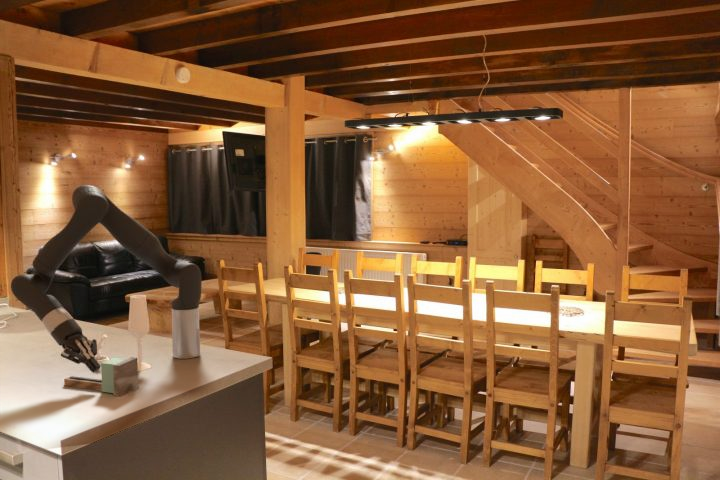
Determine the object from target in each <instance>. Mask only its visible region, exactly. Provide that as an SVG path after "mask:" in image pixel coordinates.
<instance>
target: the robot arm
mask: <svg viewBox="0 0 720 480" xmlns="http://www.w3.org/2000/svg"><path fill="white" fill-rule="evenodd" d="M71 201H72V202H71V203H72V205H73V208H74V212H73V214H72V216H71V217H70V219H69V221H68V223H67V224H66V225H65V227H63V228H62V229H61V230H60V231H59V232H58V233H56V234H55V235H54V236H52V237H51V238H50V239H49V240H48V241H47V242H46V243H45V244H44V246H43V247H42V248H41V249H40V250H39V252H38V253H37V255H35V257H34V259H33V261H32V263H31V265H32V267H33V269H34V272H33V273H30V274H29V273H27V274H26V273H25V274H18V275H16V276H14V277H13V279H11V283H10V290H11V293H12V294H13V296H14V297H15V298H16V300H18V301H19V302H21V304H22V305H24V306H25V307H26V308H28V309H29V310H30V311H32V312H33V313H34V315H36V316H37V318H38V319H39V320H40V321H41V323H42V325H43V326H44V328H45V329H46V331H47V332H48V333H49V335H50V336H51V337H52V338H53V340H54V341H55V342H56V344H58V346H61V348H62V349H63V350H62V352H61V353H60V357H62V358H63V359H64V358H65V359H66V360H68V361H71V362H73V363H75V364H77V365H80V363H81V364H83V365H85V364H86V365H85V366H86V367H87V368H88V370H89V371H90V372H92V373H96V372H99V370H100V369H101V366H100V364H99V363H98V362H97V361H98V360H96V359H95V358H94V356H95V355H96V354H97V343H98V342H97V339H95V338H93V339H91V340H90V339H88V338H87V337H88V336H85V335H84V334H83V328H81V326H80V325H79V324H78V322H77V321H76V320H75V319H74V317H73V316H72V315H71V314H70V313H69V312H68V310H66V309H65V308H64V306H63V305H62V304H61V302H59V300H58V299H57V298H56V297H55V296H53V295H52V294H47V293H46V292H47V291H48V290H49V289H50V287H51V284H52V282H53V279H54V277H55V274H56V272H57V271H58V270H59V269H60V266H61V265H62V264H63V263H64V261H65V260H66V259H67V257H68V256H69V255H70V253H71V252H72V251H73V250H74V248H75V247H76V246H77V245H78V244H79V243H80V242H81V241H82V240H83V239H84V238H85V237H86V235H88V234H89V233H90V231H91V230H93V229H94V228H95V227H96V226H97V225H98V224H100V225H102V226H103V227H104V228H105V229H106V230H107V231H108V232H109V234H111V236H112V237H113V238H114V239H115V240H116V241H117V243H118V244H120V246H122V247H123V249H125V250H126V251H127V252H129V254H131V255H133V256H135V257H136V258H137V259H139V261H141V262H143V263H144V264H145V265H147V266H149V267H150V268H152V269H153V271H155V272H156V273H158V274H159V275H160V276H161V278H163V279H164V281H166V282H167V283H168V284H169V285H170V286H171V287H173V288H177V289H178V296H177V297H176V298H173V300H171V331H172V332H171V333H172V335H171V336H172V357H173V358H175V359H181V360H182V359H183V360H185V359H192V358H196V357H201V329H200V301H201V298H202V282H203V281H202V280H203V278H202V271H201V269H200V267H199V265H197V264H195V263H191V262H183V261H180V260H178V259H176V258H175V257H173V256H172V255H170V254H169V253H167V252H166V250H165V249H164V247H163V245H162V243H161V242H160V240H159V238H158V237H157V236H156V235H155V234H154V233H153V232H151V231H150V230H149V229H148V228H146V227H145V226H143V224H141V223H140V222H138V221H137V220H136V219H134V218H133V217H132V216H130V215H128V214H127V213H126V212H124V211H123V210H121V209H120V208H119V207H118V206H117V205H116V204H115V203H114V202H113V201H112V200H111V199H110V198H109V197H108V196H107V195H106V194H105V193H104V192H103V191H102V190H101V189H100V188H99V187H96V186H94V185H91V184H90V185H89V184H84V185H80V186H78V187H76V188H75V189H74V190H73V193H72V196H71Z"/></svg>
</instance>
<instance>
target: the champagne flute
mask: <svg viewBox="0 0 720 480" xmlns="http://www.w3.org/2000/svg"><path fill="white" fill-rule="evenodd" d="M129 299H130V300H129V309H128V310H129V312H128V326H127V329H128V330H127V331H128V334H130V335H131V336H132V337H133V338H134V339H136V340H137V362H138V372H139V371H145V370H149V369H150V368H151V367H152V366H151V365H150V364H148V363H146V362H144V361H143V358H142V357H143V356H142V355H143V353H142V352H143V351H142V339H143V338H145V337H146V336H147V335H148V333H149V331H150V329H151V327H150V319H149V318H150V317H149V309H148V304H147V303H148V302H147V295H145V294H136V295H135V294H133V295H130V297H129Z"/></svg>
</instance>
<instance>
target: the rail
mask: <svg viewBox="0 0 720 480" xmlns="http://www.w3.org/2000/svg"><path fill="white" fill-rule="evenodd" d="M113 376H114V393H113V396H116V397H122V396H123V395H125V394H128V393H129V392H131V391H133V390H136V389H137V388H139V371H138V357H134V356H133V357H132V356H131V357H129V358H126V360H124V361H121V362H119V363H117V364H114V365H113ZM64 386H66V387H73V388H81V389H89V390H97V391H102V379H99V378H93V377H92V378H91V377H83V376H74V375H71V376H68V377H66V378H64Z"/></svg>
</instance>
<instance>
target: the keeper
mask: <svg viewBox="0 0 720 480" xmlns="http://www.w3.org/2000/svg"><path fill="white" fill-rule="evenodd" d="M126 359H127V358H125V357H112V358H111V359H109V360H108V361H105V362H103V363H101V366H100V369H101V370H100V371H101V380H102V390H101V392H103V393H108V394H110V393H111V394H114V376H113V365H114V364H117V363H119V362H121V361H124V360H126Z"/></svg>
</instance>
